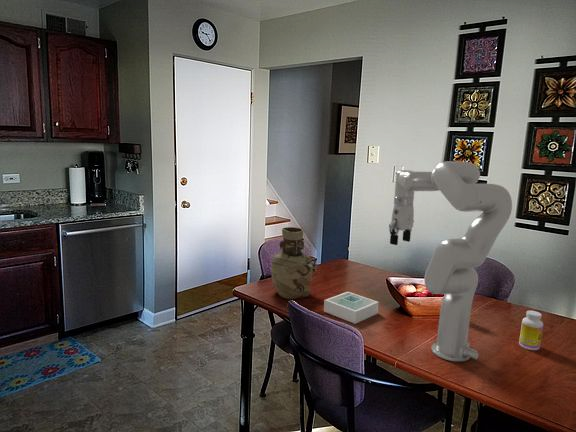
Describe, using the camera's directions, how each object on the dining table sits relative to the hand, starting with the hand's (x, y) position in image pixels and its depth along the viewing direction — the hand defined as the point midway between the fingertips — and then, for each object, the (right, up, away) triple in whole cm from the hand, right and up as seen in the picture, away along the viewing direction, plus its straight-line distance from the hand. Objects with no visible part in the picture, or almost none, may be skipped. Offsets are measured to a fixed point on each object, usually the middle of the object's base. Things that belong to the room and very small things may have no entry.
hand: (400, 242), depth 177 cm
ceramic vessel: (-44, -25, +24) cm, 56 cm away
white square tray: (-20, -29, +4) cm, 35 cm away
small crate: (-19, -28, +4) cm, 35 cm away
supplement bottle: (+41, -36, -21) cm, 59 cm away
